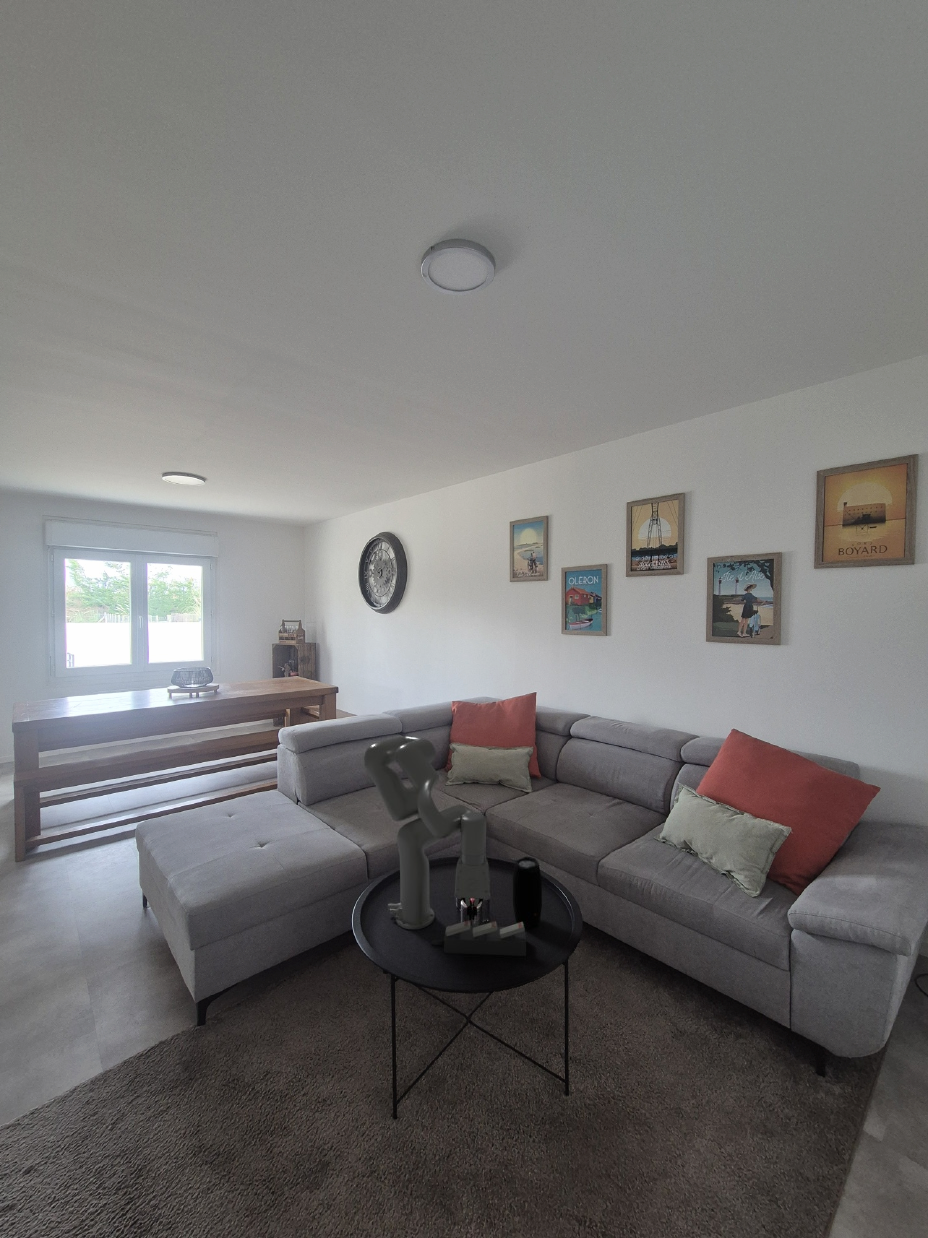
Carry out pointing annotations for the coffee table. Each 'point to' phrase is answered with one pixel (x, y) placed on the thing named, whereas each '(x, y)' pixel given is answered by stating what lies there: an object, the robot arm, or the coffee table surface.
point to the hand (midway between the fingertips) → (471, 917)
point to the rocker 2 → (484, 929)
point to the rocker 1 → (458, 928)
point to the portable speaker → (527, 892)
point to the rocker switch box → (484, 943)
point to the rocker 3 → (512, 930)
